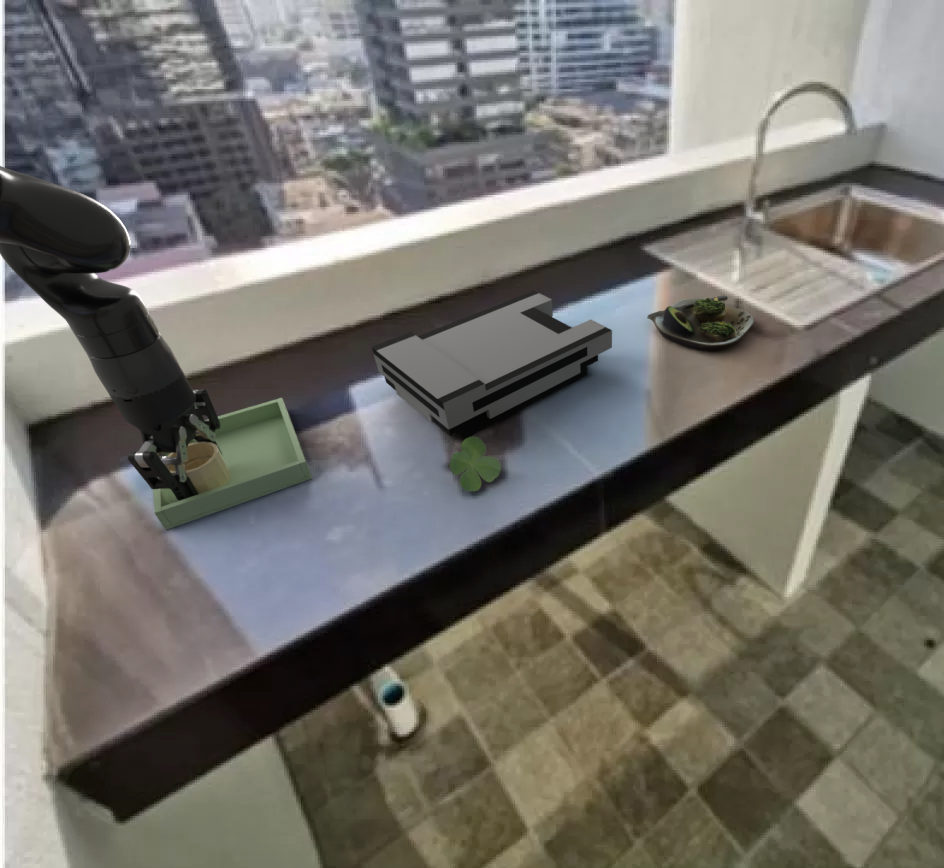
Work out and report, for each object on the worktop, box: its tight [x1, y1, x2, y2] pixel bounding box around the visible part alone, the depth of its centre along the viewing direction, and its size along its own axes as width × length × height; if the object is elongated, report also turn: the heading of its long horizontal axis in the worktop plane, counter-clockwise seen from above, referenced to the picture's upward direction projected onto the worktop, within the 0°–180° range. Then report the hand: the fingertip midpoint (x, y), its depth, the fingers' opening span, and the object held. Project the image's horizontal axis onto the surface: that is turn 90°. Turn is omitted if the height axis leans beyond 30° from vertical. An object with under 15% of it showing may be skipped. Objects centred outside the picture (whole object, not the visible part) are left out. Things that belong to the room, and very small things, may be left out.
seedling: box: [447, 436, 502, 492], centre depth 82 cm, size 7×8×7 cm
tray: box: [152, 397, 313, 531], centre depth 84 cm, size 18×18×3 cm
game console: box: [371, 290, 613, 441], centre depth 99 cm, size 21×32×8 cm, turn 133°
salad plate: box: [646, 295, 754, 352], centre depth 114 cm, size 19×18×5 cm
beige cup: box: [167, 441, 231, 494], centre depth 79 cm, size 6×6×5 cm
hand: (204, 481), depth 80 cm, fingers closed on beige cup, 6 cm apart
